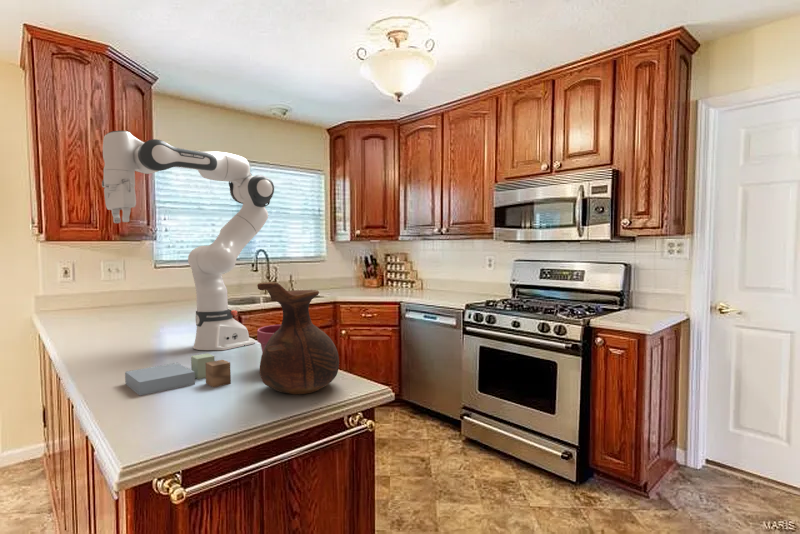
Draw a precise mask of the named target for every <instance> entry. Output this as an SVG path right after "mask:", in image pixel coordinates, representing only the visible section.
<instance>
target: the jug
mask: <svg viewBox="0 0 800 534" xmlns="http://www.w3.org/2000/svg"><path fill="white" fill-rule="evenodd" d="M256 286H257V289H258V290H260V291H267V292H268V294H269V296H270V299H271V300H272V301H275V302H277V303H278V304H279V305H280V306H281V308H282V321H281V324H280V325H281V326H280V328H279V329H278V330H277V331H276V332H275V333H274V334H273V335H272V336H271V338H270V339H269V341H268V343H267V345H266V347H265V349H264V351H263V353H262V354H261V357H260V362H259V375H260V379H261V381H262V383H263V384H264V385H265V386H267V387H269V388H270V389H271V388H272V389H274V390H275V391H276V392H279V393H282V394H283V393H284V394H290V395H306V394H312V393H315V392H318V391H320V389H322V388H324V387H326V386H328V385H329V384H331V383H332V381H334V380H335V378H336V377H337V374H338V373H339V368H340V358H339V352H338V349H337V347H336V345H335V343H334V341H333V340H332V339H331V337H330V336H329V335H328V334H327V333H326V332H325V331H324V330H322V329H320V328H319V327H318V326H317V325H315V324H313V322H312V319H311V314H310V311H309V310H310V309H309V307H310V304H311V302H312V300H313V299H314V298H316V297H317V296H318V295H319V294H320V291H319V290H316V289H300V290H299V289H297V290H296V289H295V290H287V289H286V288H284V287H283V286H282V285H281V284H280V283H279V282H276V281H269V282H268V281H265V282H259V283H257V285H256Z"/></svg>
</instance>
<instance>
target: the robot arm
mask: <svg viewBox="0 0 800 534" xmlns="http://www.w3.org/2000/svg"><path fill="white" fill-rule="evenodd" d="M102 141H103V142H102V158H103V162H104V167H103V179H102V181H101V187H102V188H104V189H103V193H104V202H105V208H106V209H107V210H108V211H109V210H110V211H111V215H112V217H113V218H112V219H113V223H114V224H120V223H121V222H122V223H129V222H130V221H131V220H130V215H131V212H132V211H131V210H132V208H136V206H137V196H136V189H135V187H136V173H137V172H138V173H141V174H145V175H147V174H148V175H149V174H150V175H151V174H154V173H157V172H162V171H166V170H169V169H171V168H181V169H189V170H196V171H198V173H199V175H200V176H201V177H202V178H204V179H207V180H211V181H215V182H228V185H229V193H230V196H231V198H232V199H233V200H234V202H236V203H238V204H242V206H241V208H240V209H239V211H237V213H236V214H235V215H234V216H232V218H231V219H230V220H228V221H227V222H226V224H224V225H223V226H222V228H221V229H220V231H219V233H218V236H217V237H216V238H215V240H214V241H212V243H211V244H208V245H199V246H197V247H196V248H193V249H192V250H191V251H190V252H189V254H188V257H187V261H188V265H189V266H190V269H191V273H192V277H193V282H194V285H195V291H196V292H195V294H196V296H195V297H196V310H195V325H196V329H195V330H196V332H195V338H194V343H193V346H192V347H193V349H194V350H199V351H226V350H230V349H231V350H232V349H235V348H239V347H245V346H249V345H253V344H255V343H256V341H255V339H254V338H252V337H250V335H249V331H248V328H247V326H245V325H243V324H242V323H241V322H240V321H237V320H236V319H235V318H233V317H235V316H237V315H238V311H237V310H234V309H232V310H231V309H229V302H228V301H229V299H228V296H229V295H228V288H227V286H226V285H225V282H224V278H223V275H224V274H227V273H230V272H231V271H232V270H233V269H234V268H235V267H236V265H237V259H238V257H239V255H240V254H241V252H242V251H243V250H244V248H245V247H246V246H247V245H248V243H250V242H251V241H252V239H253V238H254V237H255V236H256V235H257V234H258V233H259V232H260V231H261V229H262V228H263V227H264V225H265V224H266V222H267V220H268V218H269V212H268V210H267V209H266V207H267V206H269V205H270V204H271V203H270V202H271V200H272V198H273V196H274V193H275V186H274V183H273V180H271V179H270V178H269V177H268V176H265V175H263V174H262V175H260V174H257V175H253V174H252V173H251V166H250V163H249V161H248V160H247V158H245V157H243V156H241V155H238V154H234V153H230V152H226V151H215V150H213V151H212V150H208V151H197V150H191V149H185V148H179V147H176V146H173V145H171V144H169V143H167V142H166V141H164V140H162V139H156V138H155V139H154V138H153V139H149V140H147V141H143V140H141V139H138V138H137V137H136V136H134V135H133V134H132V133H131V132H130V131H127V130H113V131H110V132H107V133H106V134H105V135H104V137H103V140H102ZM135 172H136V173H135ZM120 211H122V216H120ZM244 345H245V346H244Z"/></svg>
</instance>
